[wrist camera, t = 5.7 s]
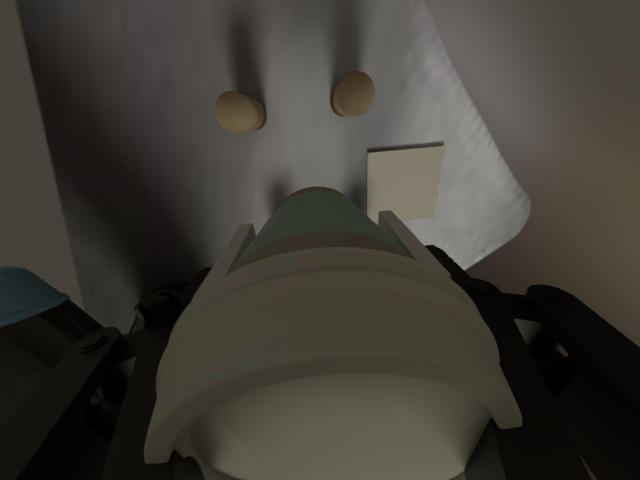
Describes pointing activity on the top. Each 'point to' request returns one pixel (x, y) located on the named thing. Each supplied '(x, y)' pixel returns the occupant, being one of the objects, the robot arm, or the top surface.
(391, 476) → the coffee cup
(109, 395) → the robot arm
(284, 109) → the top surface
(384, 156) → the felt mat
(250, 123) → the spacer posts
